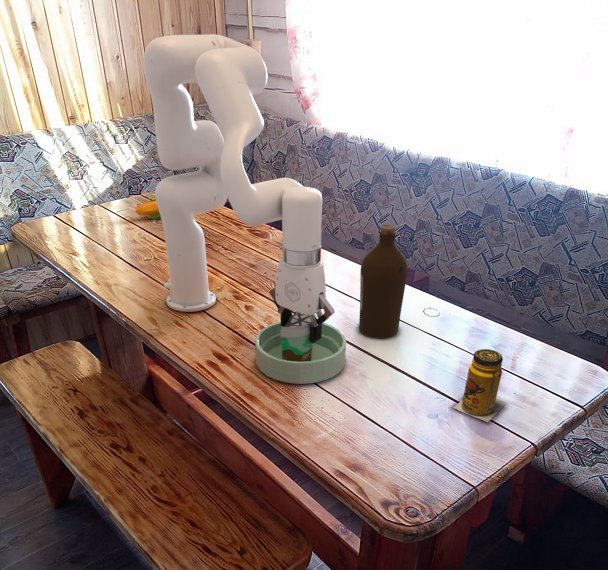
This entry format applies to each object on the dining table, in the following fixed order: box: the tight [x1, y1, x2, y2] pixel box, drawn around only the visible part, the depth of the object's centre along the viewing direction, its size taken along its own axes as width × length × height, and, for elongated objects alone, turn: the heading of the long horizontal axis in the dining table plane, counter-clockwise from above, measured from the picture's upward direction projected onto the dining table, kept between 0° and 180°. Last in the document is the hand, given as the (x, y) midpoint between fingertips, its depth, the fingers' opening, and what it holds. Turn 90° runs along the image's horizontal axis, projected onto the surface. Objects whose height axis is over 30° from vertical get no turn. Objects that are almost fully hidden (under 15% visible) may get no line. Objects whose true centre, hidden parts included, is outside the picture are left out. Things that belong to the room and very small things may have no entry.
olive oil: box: [358, 224, 409, 339], centre depth 136 cm, size 11×11×25 cm
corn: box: [134, 195, 161, 220], centre depth 211 cm, size 7×8×20 cm
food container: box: [280, 311, 313, 362], centre depth 126 cm, size 12×6×10 cm, turn 165°
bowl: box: [254, 321, 347, 385], centre depth 128 cm, size 19×19×6 cm
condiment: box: [453, 348, 507, 423], centre depth 113 cm, size 7×8×12 cm
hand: (300, 334), depth 126 cm, fingers closed on food container, 7 cm apart
